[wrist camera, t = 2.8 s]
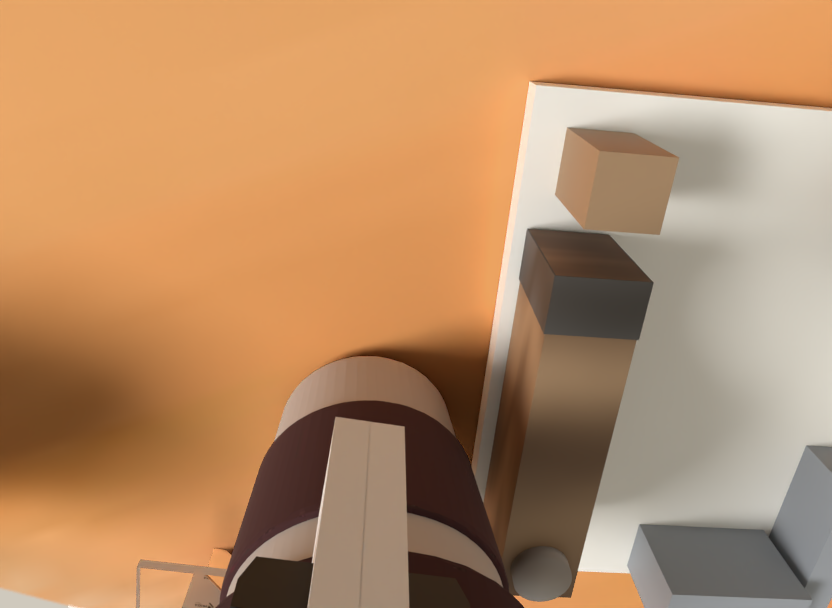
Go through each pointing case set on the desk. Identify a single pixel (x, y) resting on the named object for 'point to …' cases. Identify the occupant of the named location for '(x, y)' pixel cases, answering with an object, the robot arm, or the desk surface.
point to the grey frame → (195, 579)
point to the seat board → (697, 335)
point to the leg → (560, 402)
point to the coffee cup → (425, 479)
